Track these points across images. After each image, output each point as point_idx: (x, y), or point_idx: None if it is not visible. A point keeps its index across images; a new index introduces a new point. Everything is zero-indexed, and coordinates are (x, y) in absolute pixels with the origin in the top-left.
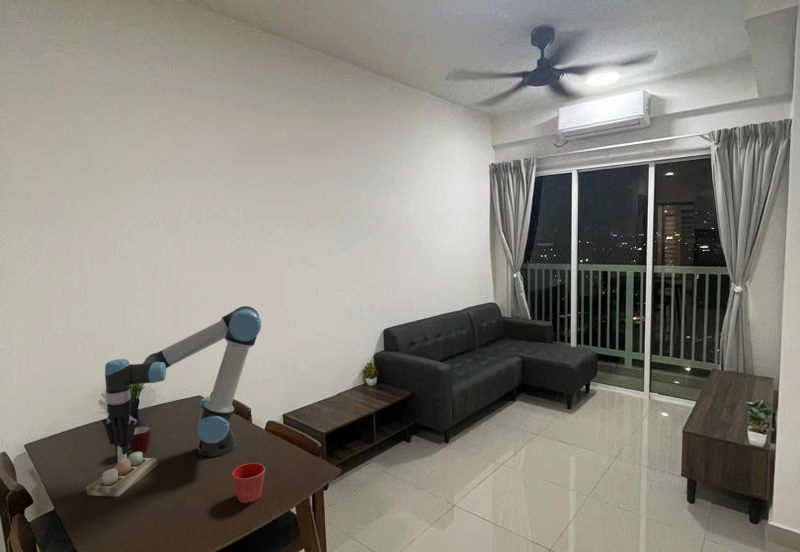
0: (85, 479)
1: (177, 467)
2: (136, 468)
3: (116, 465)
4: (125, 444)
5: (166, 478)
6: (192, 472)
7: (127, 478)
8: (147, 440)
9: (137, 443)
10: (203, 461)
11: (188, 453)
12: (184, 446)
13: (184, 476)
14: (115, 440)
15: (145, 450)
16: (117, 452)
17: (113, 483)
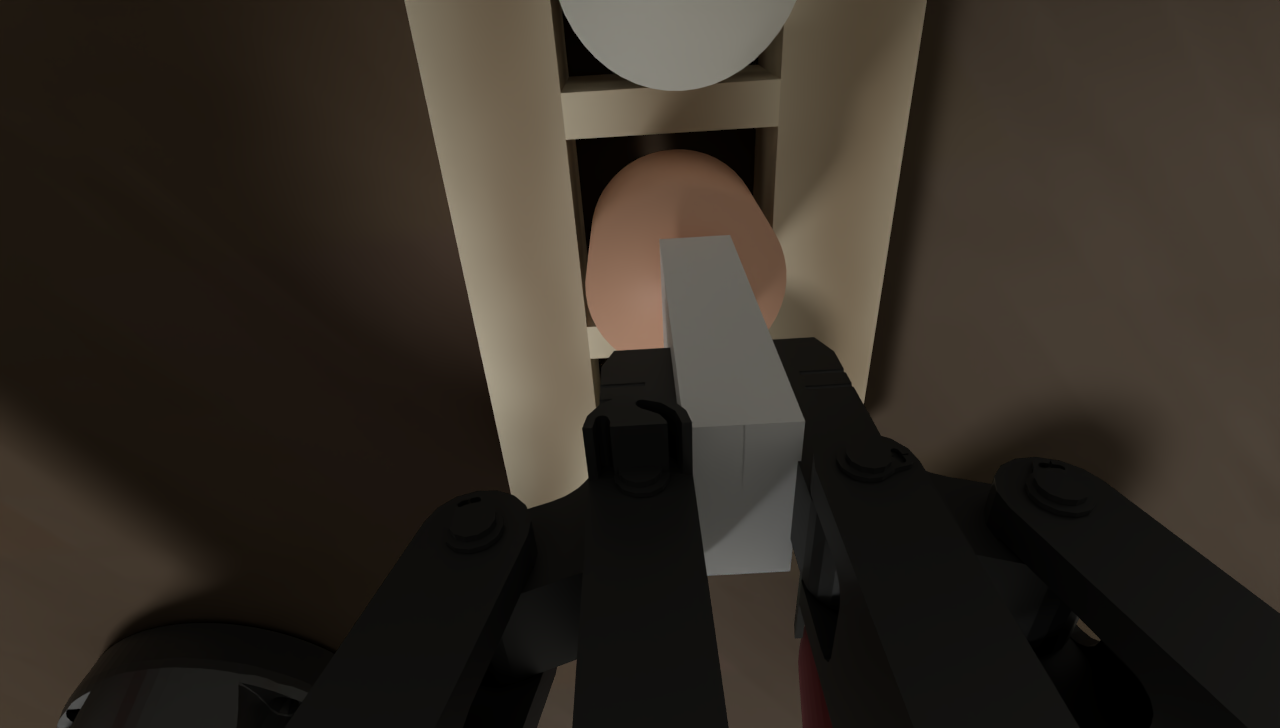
0: (1158, 137)
1: (297, 466)
2: (571, 326)
3: (743, 205)
4: (575, 515)
5: (198, 286)
6: (50, 416)
7: (474, 81)
8: (805, 722)
9: None
10: (159, 568)
11: None
12: (548, 700)
13: (46, 345)
14: (938, 586)
15: None
16: (796, 355)
17: None
